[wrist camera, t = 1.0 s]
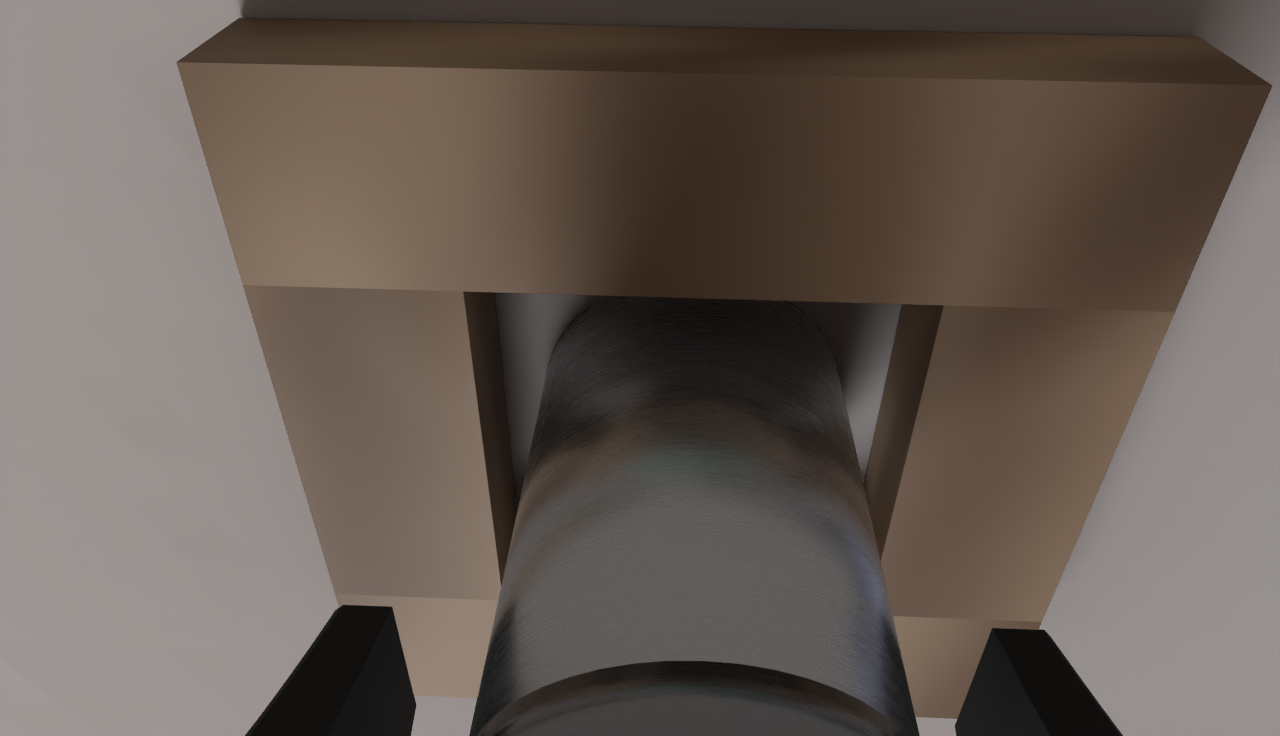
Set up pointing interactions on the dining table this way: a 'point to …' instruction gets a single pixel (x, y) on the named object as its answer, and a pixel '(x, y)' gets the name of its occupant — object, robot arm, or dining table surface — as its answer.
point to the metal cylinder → (693, 539)
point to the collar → (714, 269)
